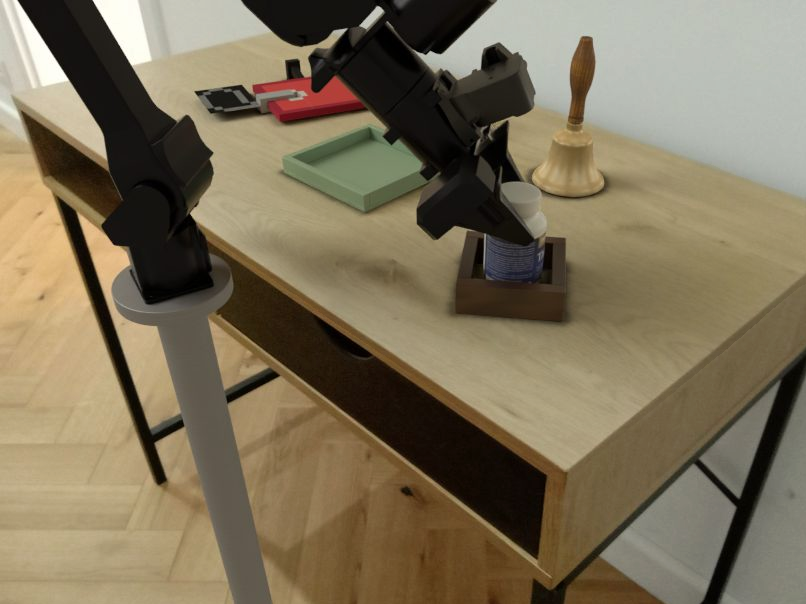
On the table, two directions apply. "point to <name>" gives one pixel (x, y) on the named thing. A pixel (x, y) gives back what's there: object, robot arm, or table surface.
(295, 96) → the red board with handle
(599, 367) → the table surface
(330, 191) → the tray
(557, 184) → the hand bell
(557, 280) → the bottle holder
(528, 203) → the pill bottle
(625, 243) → the table surface
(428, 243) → the table surface
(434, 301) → the table surface
